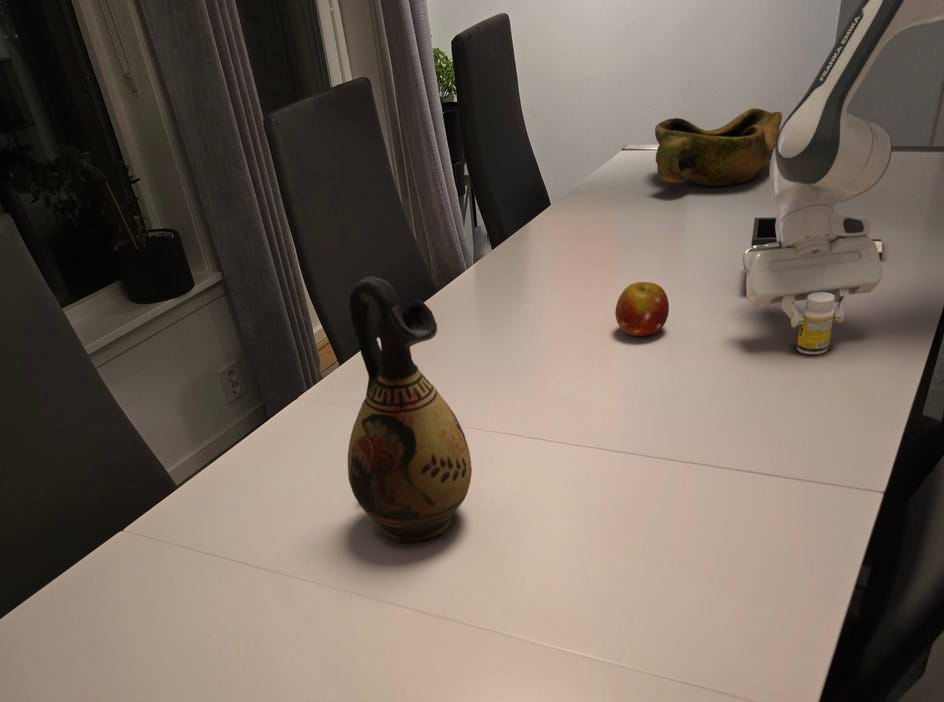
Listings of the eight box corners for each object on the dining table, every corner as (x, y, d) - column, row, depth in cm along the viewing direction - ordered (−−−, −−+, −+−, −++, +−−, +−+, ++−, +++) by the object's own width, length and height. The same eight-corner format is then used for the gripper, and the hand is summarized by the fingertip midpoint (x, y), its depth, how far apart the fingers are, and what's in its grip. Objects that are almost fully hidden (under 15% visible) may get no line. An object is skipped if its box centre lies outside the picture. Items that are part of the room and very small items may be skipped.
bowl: (680, 156, 232) (681, 94, 222) (789, 154, 219) (795, 87, 208) (627, 210, 210) (625, 144, 200) (745, 210, 197) (749, 139, 186)
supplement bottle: (799, 342, 137) (807, 289, 131) (829, 344, 135) (839, 291, 130) (793, 353, 134) (802, 301, 128) (825, 356, 132) (835, 302, 126)
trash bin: (817, 271, 159) (826, 215, 153) (818, 295, 151) (828, 237, 144) (748, 271, 163) (754, 217, 156) (745, 295, 154) (751, 239, 148)
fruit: (666, 343, 142) (669, 295, 137) (613, 344, 144) (613, 297, 139) (668, 321, 149) (670, 274, 144) (616, 322, 151) (617, 276, 146)
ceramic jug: (502, 514, 108) (482, 275, 88) (414, 571, 100) (370, 324, 81) (415, 474, 118) (379, 251, 98) (329, 523, 110) (272, 293, 91)
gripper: (746, 236, 129) (757, 322, 128) (880, 220, 128) (892, 306, 128) (735, 257, 136) (745, 339, 135) (862, 242, 135) (874, 324, 134)
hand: (818, 323), depth 131 cm, fingers closed on supplement bottle, 5 cm apart
